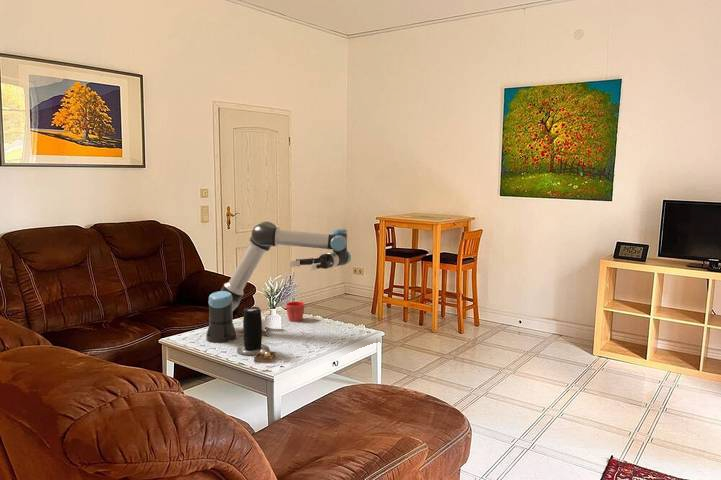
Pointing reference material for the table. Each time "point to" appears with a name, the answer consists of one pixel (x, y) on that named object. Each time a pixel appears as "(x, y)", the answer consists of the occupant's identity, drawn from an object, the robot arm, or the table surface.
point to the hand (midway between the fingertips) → (300, 265)
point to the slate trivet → (245, 352)
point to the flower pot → (295, 311)
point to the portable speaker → (252, 328)
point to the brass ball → (267, 354)
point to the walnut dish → (264, 359)
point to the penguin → (263, 323)
